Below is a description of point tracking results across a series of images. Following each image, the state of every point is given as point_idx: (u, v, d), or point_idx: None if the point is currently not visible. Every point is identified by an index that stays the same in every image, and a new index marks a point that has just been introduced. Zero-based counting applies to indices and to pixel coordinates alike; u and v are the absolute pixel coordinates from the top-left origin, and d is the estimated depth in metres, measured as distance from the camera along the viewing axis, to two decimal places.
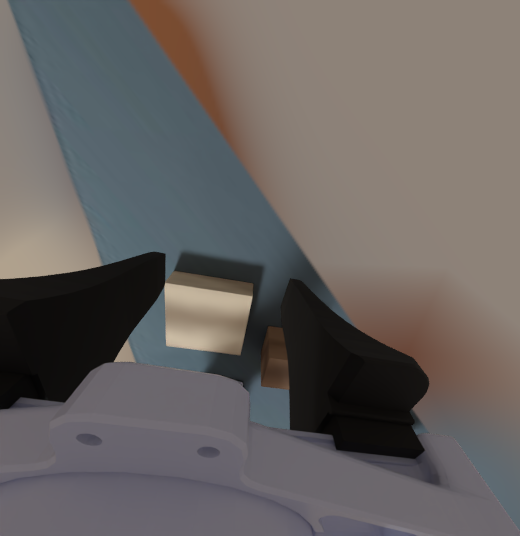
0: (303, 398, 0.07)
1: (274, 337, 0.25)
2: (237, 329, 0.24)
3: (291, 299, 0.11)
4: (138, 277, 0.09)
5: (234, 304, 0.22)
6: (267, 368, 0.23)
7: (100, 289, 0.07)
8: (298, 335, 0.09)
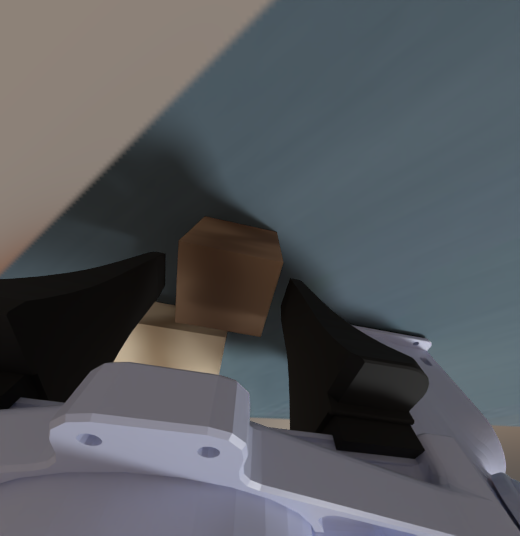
0: (303, 398, 0.07)
1: None
2: (169, 338, 0.15)
3: (291, 299, 0.11)
4: (138, 277, 0.09)
5: None
6: (206, 325, 0.12)
7: (100, 289, 0.07)
8: (298, 335, 0.09)
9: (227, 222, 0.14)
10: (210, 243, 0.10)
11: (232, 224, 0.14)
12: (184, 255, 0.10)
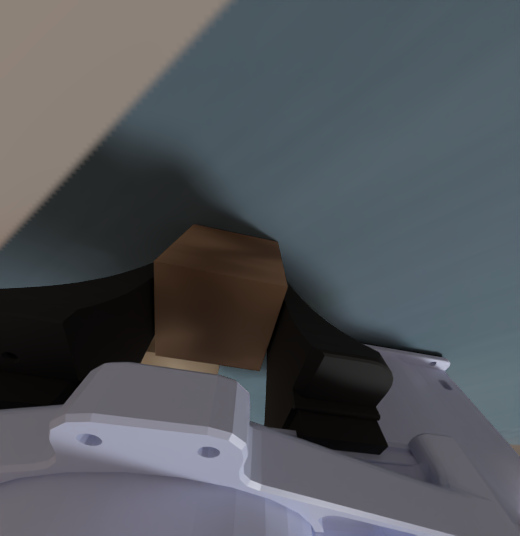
0: (275, 394, 0.07)
1: None
2: (154, 362, 0.13)
3: None
4: None
5: None
6: (193, 359, 0.10)
7: (133, 295, 0.07)
8: (276, 331, 0.09)
9: (219, 231, 0.12)
10: (195, 262, 0.08)
11: (225, 234, 0.11)
12: (162, 279, 0.08)
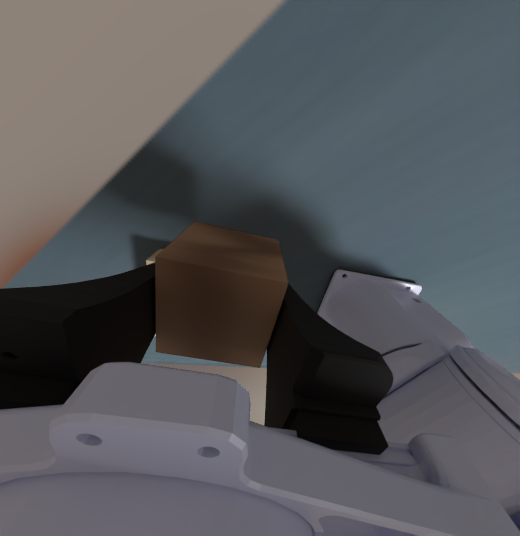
0: (275, 394, 0.07)
1: None
2: None
3: None
4: None
5: None
6: (194, 355, 0.10)
7: (133, 295, 0.07)
8: (276, 331, 0.09)
9: (220, 229, 0.12)
10: (196, 258, 0.08)
11: (226, 231, 0.12)
12: (163, 275, 0.08)
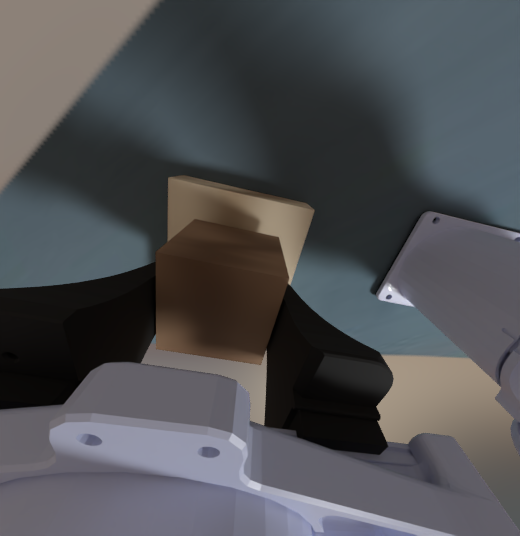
0: (275, 394, 0.07)
1: None
2: (246, 211, 0.13)
3: None
4: None
5: (191, 212, 0.13)
6: (194, 352, 0.10)
7: (133, 295, 0.07)
8: (276, 331, 0.09)
9: (221, 226, 0.12)
10: (197, 254, 0.08)
11: (226, 228, 0.11)
12: (163, 270, 0.08)
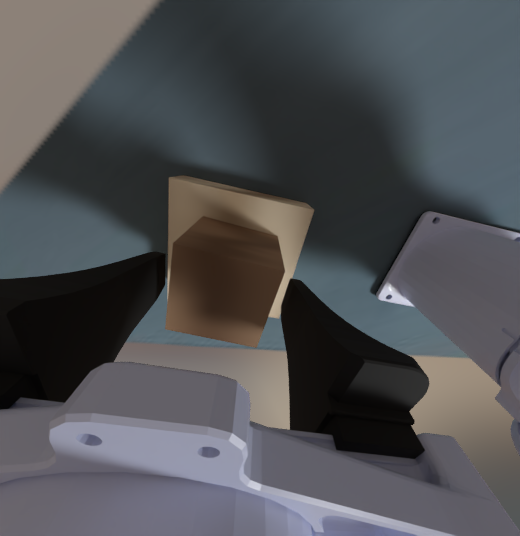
0: (303, 398, 0.07)
1: None
2: (246, 211, 0.13)
3: (291, 299, 0.11)
4: (138, 277, 0.09)
5: (191, 211, 0.13)
6: (198, 334, 0.11)
7: (100, 289, 0.07)
8: (298, 335, 0.09)
9: (226, 224, 0.13)
10: (207, 246, 0.09)
11: (231, 226, 0.13)
12: (178, 259, 0.09)
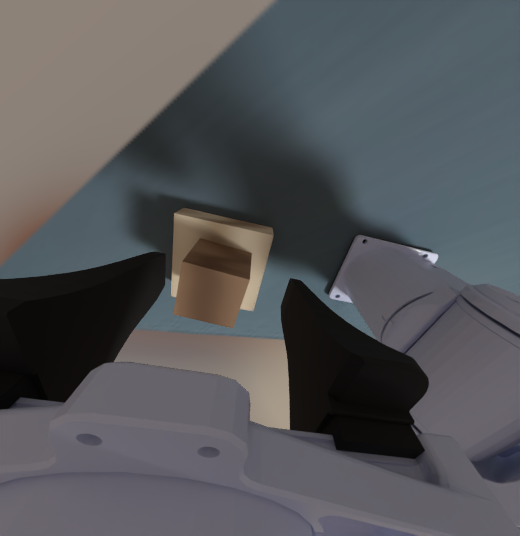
0: (303, 398, 0.07)
1: None
2: (227, 235, 0.19)
3: (291, 299, 0.11)
4: (138, 277, 0.09)
5: (189, 235, 0.19)
6: (195, 318, 0.17)
7: (100, 289, 0.07)
8: (298, 335, 0.09)
9: (216, 244, 0.19)
10: (202, 263, 0.15)
11: (219, 246, 0.19)
12: (184, 271, 0.15)
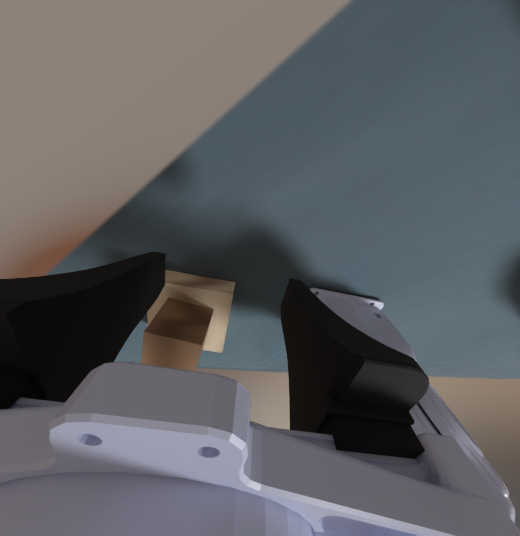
0: (303, 398, 0.07)
1: None
2: (192, 295, 0.22)
3: (291, 299, 0.11)
4: (138, 277, 0.09)
5: (160, 295, 0.22)
6: None
7: (100, 289, 0.07)
8: (298, 335, 0.09)
9: (181, 303, 0.22)
10: (162, 331, 0.18)
11: (184, 305, 0.22)
12: (147, 338, 0.18)
